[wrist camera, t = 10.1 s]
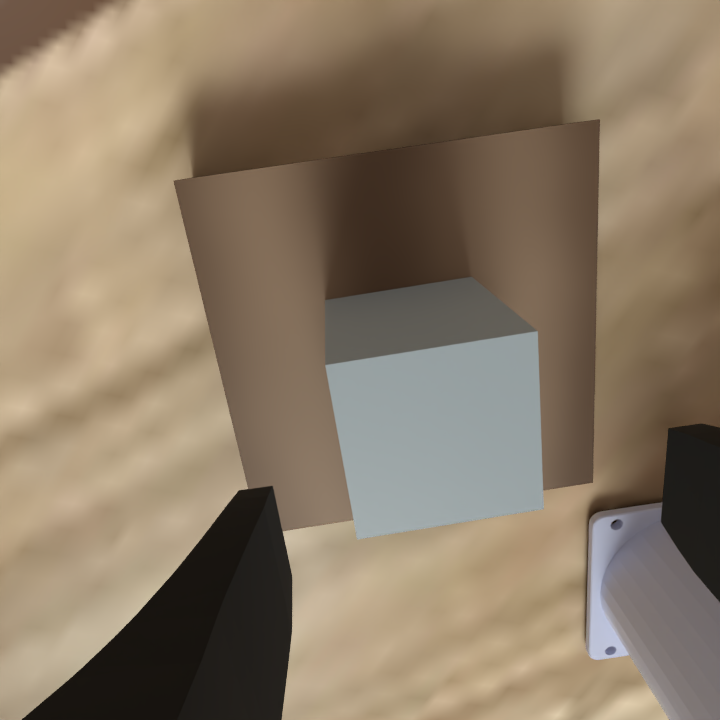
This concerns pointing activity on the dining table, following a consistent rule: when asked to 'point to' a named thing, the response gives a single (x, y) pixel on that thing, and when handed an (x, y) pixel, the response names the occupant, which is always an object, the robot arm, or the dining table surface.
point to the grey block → (434, 406)
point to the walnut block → (393, 284)
